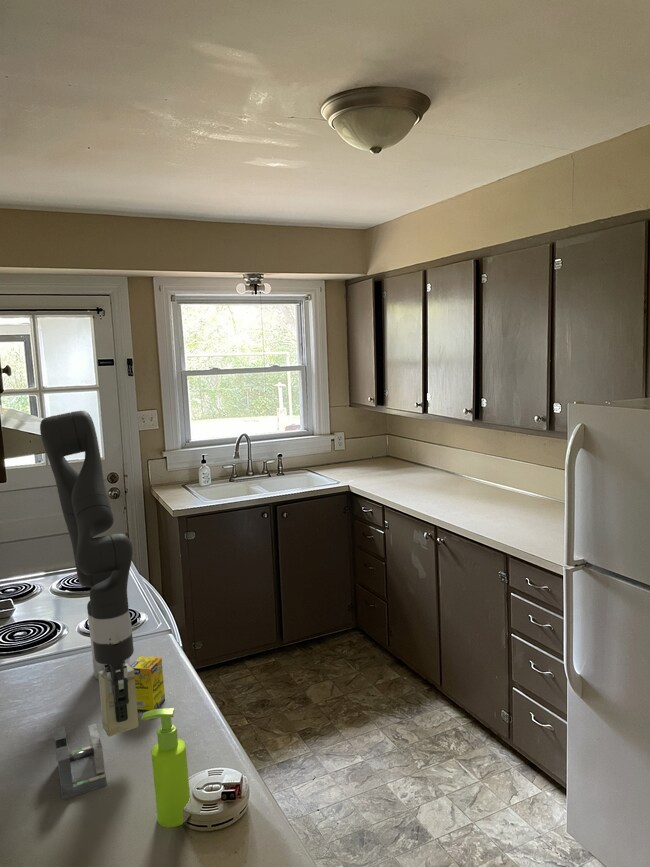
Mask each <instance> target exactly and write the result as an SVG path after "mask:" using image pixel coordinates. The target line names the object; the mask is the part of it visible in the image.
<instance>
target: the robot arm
mask: <svg viewBox="0 0 650 867" xmlns="http://www.w3.org/2000/svg"><path fill="white" fill-rule="evenodd" d="M39 431H40V438H41V441H42V445H43V448H44V451H45V454H46V456H47V459H48V462H49V465H50V468H51V471H52V473H53V477H54V480H55V483H56V484H55V485H56V488H57V493H58V498H59V503H60V507H61V511H62V515H63V517H64V522H65V525H66V528H67V531H68V535H69V538H70V542H71V546H72V551H73V559H74V563H75V570H76V575H77V578H78V582H79V584H80V585H81V587H84V588H90V589H89V601H88V602H87V606H86V607H87V609H86V610H87V611H86V612H87V618H88V628H89V636H90V637H89V638H90V646H91V647H90V648H91V657H92V668H93V676H94V679H96V680H98V681H99V675H98V672H99V671H102V670H105V672H106V675H107V678H109V677H111V676H112V680H111V681H109V685H110V693H111V694H113V699H114V701H113V704H114V705H115V714H116V721H117V722H118V723H119V722H123V721H126V720H127V719H128V713H127V704H129V699H128V679H127V674H128V671H127V666H125V663H129V664H130V665H131V657H132V656H133V654H134V651H135V648H134V639H133V628H132V620H131V615H130V610H129V602H128V601H129V599H128V583H129V575H130V570H131V566H132V562H133V561H132V560H133V556H134V555H133V553H134V548H133V544H132V541H131V539H130V538H129V537H128V536H127V535H126V534H124V533H113V534H109V535H103V536H99V535H101V534H103V533H105V532H107V531H108V530H109V529H111V528H112V527H113V525H114V515H113V512H112V507H111V505H110V501H109V500H110V499H109V497H108V494H107V490H106V486H105V480H104V473H103V472H104V471H103V463H102V457H101V452H100V445H99V440H98V436H97V431H96V427H95V424H94V422H93V418H92V416H91V415H90V414H89V412H88V411H86V410H76V411H71V412H67V413H66V412H65V413H60V414H57V415H52V416H47V417H45V418H43V419H42V420H41V422H40V424H39ZM81 453H84V459H83V464H82V467H81V468H80V469H81V470H80V471H77V470H76V469H75V467H73V466H72V465H71V464H70V463H69V461H67V459H66V457H68V456H70V455H71V456H72V455H75V454H76V455H77V454H81ZM96 536H98V537H96ZM112 682H113V686H114V688H113V687H112ZM121 696H124V697H121ZM119 697H121V698H119Z"/></svg>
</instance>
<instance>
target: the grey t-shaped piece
mask: <svg viewBox="0 0 650 867" xmlns="http://www.w3.org/2000/svg"><path fill="white" fill-rule="evenodd" d="M87 727H88V737H89V744H90V745H89V746H90V747H91V748H90V749H87V750H84V751H80V752H77V753H74V754H70V755H69V756H70V762H73V761H77V760H80V759H83V758H86V757H90V756H92V759H93V763H94V768H95V772H96V776H99V775H102V774H106V772H105V771H106V770H105V761H104V753H103V751H104V750H103V749H104V748H103V745H102V742H101V737H100V734H99V731H98V726H97V723H93V724H90V725H88V726H87Z"/></svg>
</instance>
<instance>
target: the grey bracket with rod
mask: <svg viewBox="0 0 650 867" xmlns="http://www.w3.org/2000/svg"><path fill="white" fill-rule="evenodd" d="M65 728H66V727H65V726H60V727H56V728H53V734H54V744H55V752H56V762H57V769H58V777H59V784H60V791H61V800H66V799H69V798H72V797H76V796H79V795H81V794H85V793H87V792H91V791H93V790H97V789H99V788H103V787H105V786H107V785H108V782H107V781H108V780H107V775H106V774H107V773H105V774H102V775H99V776H96V772H95V768H94V763H93V759H92V756H90V757H86V758H83V759H80V760H77V761H73V762H70V756H69V755H70V754H74V753H77V752H80V751H84V750H87V749H90V748H91V747H90V745H89V746H87V747H86V746H85V747H82V748H79V749H75V750H72V751H71V752H69V746H68V741H67V733H66V729H65Z"/></svg>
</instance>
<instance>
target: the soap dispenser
mask: <svg viewBox="0 0 650 867" xmlns="http://www.w3.org/2000/svg"><path fill="white" fill-rule="evenodd" d="M174 713H175V708H174V707H173V708H172V707H169V708H168V707H165V708H158V709H154V710H150V711H147V712H142V716H141V720H143V721H147V720H150V719H158V718H159V719H160V723H161V724H160V726H159V727H158V728H157V731H156V732H157V733H156V735H157V743H155V744H154V745H153V746H152V748H151V750H150V753H151V763H152V771H153V772H152V775H153V782H154V783H153V784H154V793H155V794H154V795H155V804H156V816H157V818H156V819H157V822H158V824H159V825H160V826H161V827H164V828H167V829H169V828H171V829H172V828H177V827H180V826H181V825H184V824H183V809H184V807H185V806H186V804H187V803H188V801H189V798H190V799H191V794H190V793H191V792H190V781H189V780H190V779H189V770H188V768H189V767H188V759H187V757H188V755H187V747H186V746H187V745H186V742H185V741H184V740H183V739H182V738H179V737H178V728H177V725H176V724H174V723H172V718H173V717H174Z"/></svg>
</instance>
